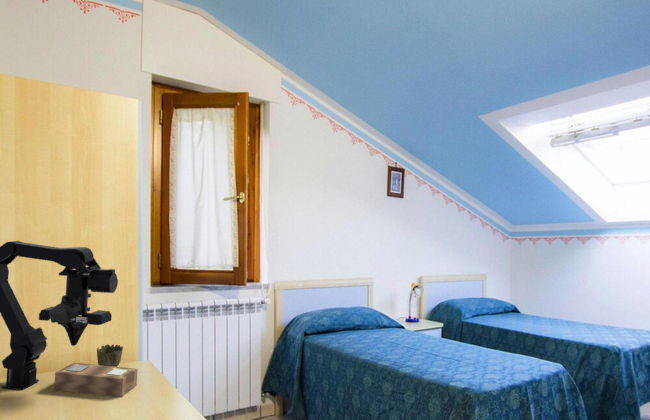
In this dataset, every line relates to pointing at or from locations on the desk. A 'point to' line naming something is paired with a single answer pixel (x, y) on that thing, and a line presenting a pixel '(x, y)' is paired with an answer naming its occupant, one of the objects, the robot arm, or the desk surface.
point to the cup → (109, 355)
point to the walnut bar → (96, 380)
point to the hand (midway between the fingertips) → (73, 345)
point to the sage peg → (117, 372)
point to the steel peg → (77, 368)
